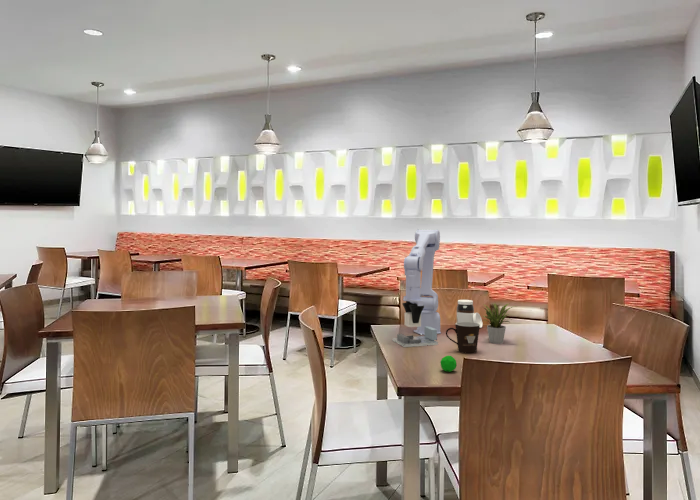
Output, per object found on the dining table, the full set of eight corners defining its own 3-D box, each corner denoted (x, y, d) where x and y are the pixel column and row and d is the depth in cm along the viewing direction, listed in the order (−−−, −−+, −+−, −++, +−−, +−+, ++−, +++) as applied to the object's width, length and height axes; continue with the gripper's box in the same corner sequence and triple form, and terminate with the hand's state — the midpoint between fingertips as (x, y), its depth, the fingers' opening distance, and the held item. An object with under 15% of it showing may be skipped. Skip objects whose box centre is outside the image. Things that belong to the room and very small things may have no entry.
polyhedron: (439, 372, 160) (439, 357, 160) (442, 368, 165) (442, 353, 165) (455, 374, 159) (455, 358, 158) (457, 370, 163) (457, 355, 163)
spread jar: (455, 323, 241) (456, 299, 241) (480, 324, 240) (480, 299, 239) (457, 328, 229) (457, 302, 229) (483, 329, 228) (484, 303, 227)
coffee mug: (480, 349, 190) (480, 322, 190) (478, 355, 182) (478, 327, 182) (448, 347, 194) (448, 320, 193) (445, 352, 186) (445, 325, 185)
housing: (416, 324, 204) (416, 311, 204) (421, 326, 200) (421, 312, 200) (404, 325, 203) (404, 311, 203) (409, 327, 199) (409, 313, 198)
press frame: (424, 338, 210) (424, 331, 210) (438, 344, 198) (438, 337, 198) (392, 340, 206) (392, 333, 206) (404, 347, 194) (404, 339, 194)
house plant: (520, 340, 206) (521, 299, 205) (516, 347, 193) (516, 304, 193) (484, 337, 212) (484, 297, 211) (477, 344, 199) (478, 301, 199)
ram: (429, 336, 207) (429, 326, 207) (436, 339, 201) (436, 329, 201) (424, 336, 207) (424, 326, 207) (432, 340, 200) (432, 330, 200)
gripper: (396, 285, 207) (396, 319, 207) (411, 289, 193) (411, 325, 193) (412, 284, 209) (412, 318, 209) (428, 288, 195) (428, 324, 195)
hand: (413, 321), depth 201 cm, fingers closed on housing, 4 cm apart
